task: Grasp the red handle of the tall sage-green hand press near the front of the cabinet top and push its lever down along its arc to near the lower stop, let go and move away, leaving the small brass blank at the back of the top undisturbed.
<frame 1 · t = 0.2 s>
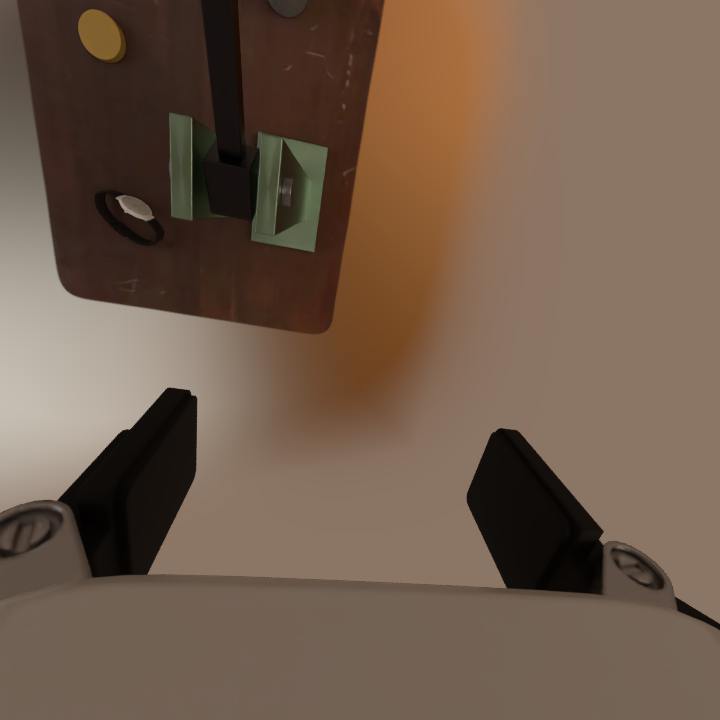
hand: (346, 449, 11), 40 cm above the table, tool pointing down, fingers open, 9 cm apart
hand press: (289, 196, 44), on the table
watch: (137, 218, 44), on the table
brass blank: (105, 39, 36), on the table
lever: (223, 40, 14), point 31 cm above the table, hinge at 30.0°
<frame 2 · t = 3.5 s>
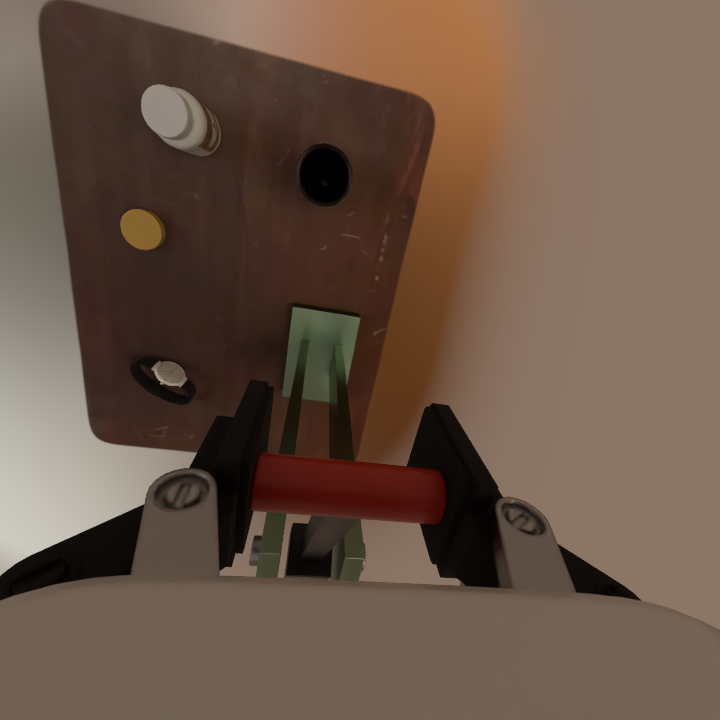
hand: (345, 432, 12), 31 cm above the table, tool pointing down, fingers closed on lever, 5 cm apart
hand press: (319, 353, 44), on the table
watch: (169, 375, 44), on the table
pill bottle: (199, 131, 34), on the table
planter: (325, 183, 37), on the table
brass blank: (145, 229, 37), on the table
lever: (321, 533, 14), point 31 cm above the table, hinge at 30.0°, touching gripper
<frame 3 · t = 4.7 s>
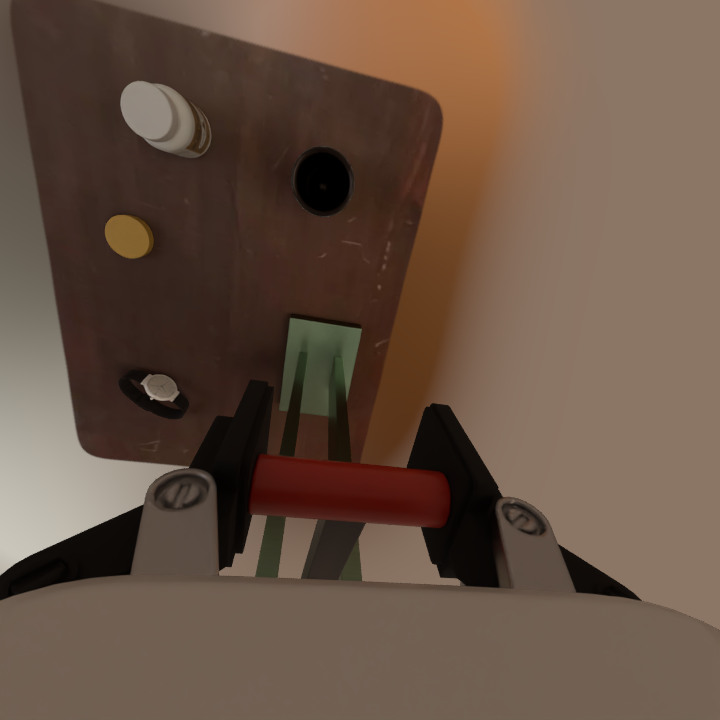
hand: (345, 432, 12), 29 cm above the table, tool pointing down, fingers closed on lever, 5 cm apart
hand press: (319, 366, 42), on the table
watch: (161, 388, 42), on the table
pill bottle: (188, 131, 32), on the table
planter: (324, 187, 34), on the table
brass blank: (132, 236, 35), on the table
lever: (318, 575, 13), point 30 cm above the table, hinge at 16.4°, touching gripper
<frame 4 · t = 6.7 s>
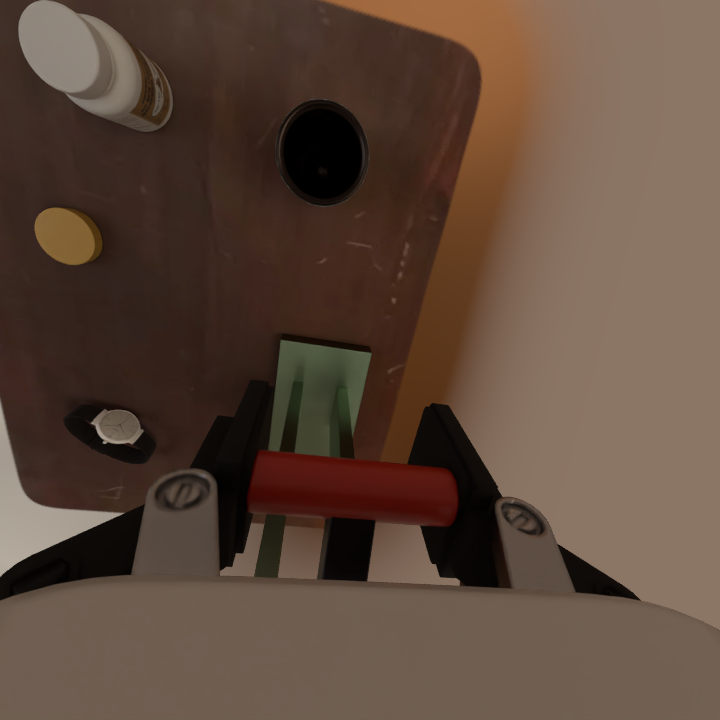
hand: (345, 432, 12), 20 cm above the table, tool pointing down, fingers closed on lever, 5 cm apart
hand press: (317, 397, 34), on the table
watch: (121, 425, 34), on the table
pill bottle: (141, 95, 24), on the table
planter: (325, 172, 26), on the table
brass blank: (74, 236, 26), on the table
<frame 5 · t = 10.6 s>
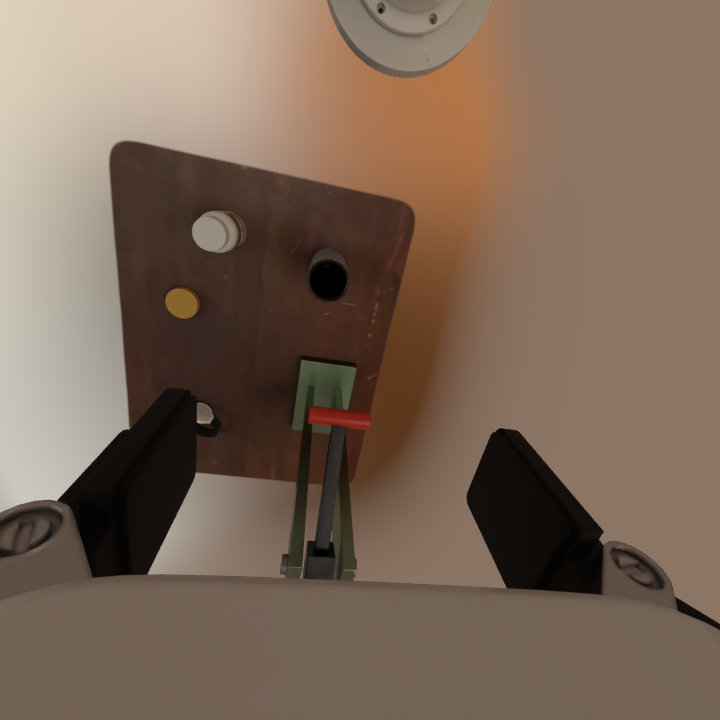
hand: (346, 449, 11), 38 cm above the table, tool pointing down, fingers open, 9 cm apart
hand press: (323, 394, 54), on the table
watch: (199, 413, 53), on the table
pill bottle: (229, 229, 43), on the table
planter: (328, 265, 46), on the table
brass blank: (184, 301, 46), on the table
lever: (328, 495, 28), point 26 cm above the table, hinge at -24.4°
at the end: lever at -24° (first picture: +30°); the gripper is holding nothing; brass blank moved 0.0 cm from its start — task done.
